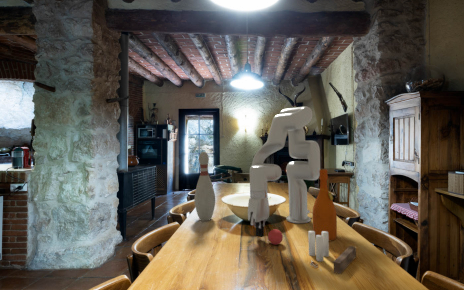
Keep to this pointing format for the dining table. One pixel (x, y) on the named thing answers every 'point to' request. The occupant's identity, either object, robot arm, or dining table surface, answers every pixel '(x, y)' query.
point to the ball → (275, 236)
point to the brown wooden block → (344, 259)
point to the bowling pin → (204, 191)
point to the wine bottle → (324, 210)
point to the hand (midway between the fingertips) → (259, 236)
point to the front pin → (311, 243)
